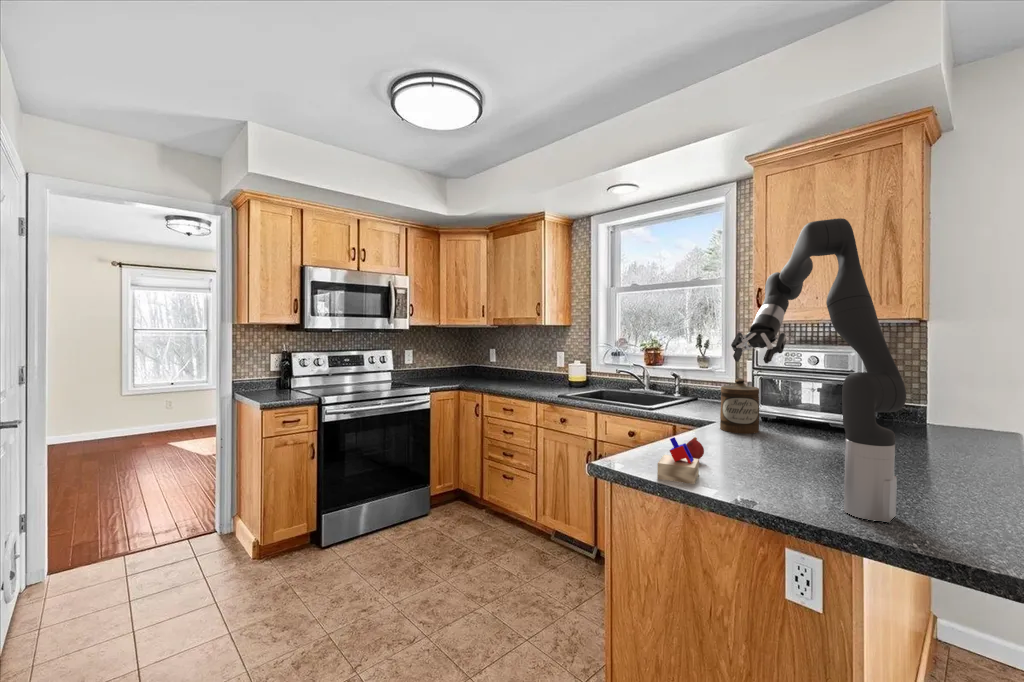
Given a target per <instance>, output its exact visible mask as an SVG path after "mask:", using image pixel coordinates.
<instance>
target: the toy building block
mask: <svg viewBox="0 0 1024 682" xmlns="http://www.w3.org/2000/svg"><path fill="white" fill-rule="evenodd" d="M669 441H670V443H671V444H672V446H673V447H672V448H671V449H670V450H669V453H670V455H671V456H672V457H673V459H674V461H675V462H676V461H679V460H681V459H684V458H686V459H687V461H688V463H692V461H693V460H694V459H693V457H692V455H691V453H690V451H689V449H688V447H687V445H686V444H687V443H686V442H684V443H682V444H679V443H678V441H677V439H676V437H674V436H673V437H671V438H669Z"/></svg>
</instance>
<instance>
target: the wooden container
mask: <svg viewBox="0 0 1024 682" xmlns="http://www.w3.org/2000/svg"><path fill="white" fill-rule="evenodd" d="M734 382H735V383H734V384H733V385H731V384H730V385H729V384H728V385H723V386H720V395H721V396H720V412H719V413H720V414H719V416H720V418H719V419H720V421H719V424H720V425H719V429H720V430H721V431H723V432H727V433H734V434H742V435H743V434H744V435H752V434H753V435H755V434H757V433H759V432H760V388H758V386H757V387H755V386H751V385H746V384H745V379H743V378H741V377H738V378H736V379H735V381H734Z"/></svg>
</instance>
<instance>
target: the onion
mask: <svg viewBox="0 0 1024 682" xmlns="http://www.w3.org/2000/svg"><path fill="white" fill-rule="evenodd" d="M686 445H687V447H688V449H689V451H690V453H691V455H692V457H693V458H695V459H699V460H700V459H702V457H704V454H705V449H704V445H703V444H702V443H701V442H700V441H698V438H697V437H696V436H695V437H692V438H691V440H689V441H687V443H686Z"/></svg>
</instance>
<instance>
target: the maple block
mask: <svg viewBox="0 0 1024 682" xmlns="http://www.w3.org/2000/svg"><path fill="white" fill-rule="evenodd" d="M693 459H694V460H693V461H692V463H688V461H687V459H686V458H684V459H681V460H679V461H676V462H675V461H674V459H673V457H672V455H671V454H662V456H661V458H660V459H659V460H658V462H657V472H656V473H657V479H658V480H663V481H668V482H669V481H670V482H676V483H682V482H683V484H689V483H690V484H691V485H695V484H696V481H697V479H698V477H699V471H700V470H699V469H700V468H699V467H700V459H695V458H693ZM690 484H689V485H690Z"/></svg>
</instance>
